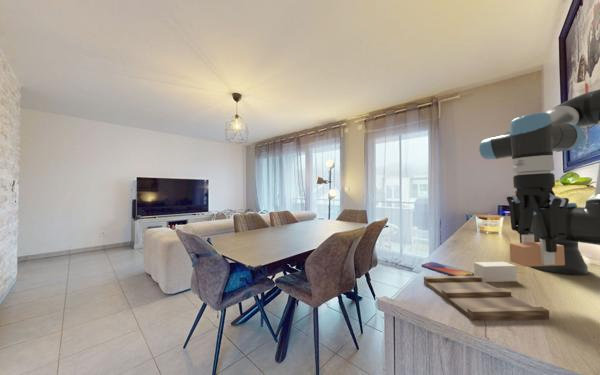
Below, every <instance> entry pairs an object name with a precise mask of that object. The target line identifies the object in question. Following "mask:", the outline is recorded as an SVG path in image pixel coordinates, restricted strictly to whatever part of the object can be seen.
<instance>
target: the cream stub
mask: <svg viewBox="0 0 600 375" xmlns="http://www.w3.org/2000/svg"><path fill="white" fill-rule="evenodd" d="M473 267H474V272H473V273H474V276H480V277H482V281H484V282H486V283H495V282H496V283H497V282H502V283H503V282H504V283H505V282H517V280H518V278H517V277H518V276H517V265H514V264H511V262H506V261H480V262H476V261H475V262H473Z"/></svg>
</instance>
